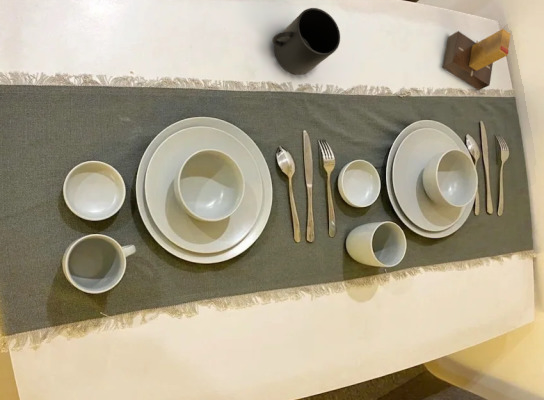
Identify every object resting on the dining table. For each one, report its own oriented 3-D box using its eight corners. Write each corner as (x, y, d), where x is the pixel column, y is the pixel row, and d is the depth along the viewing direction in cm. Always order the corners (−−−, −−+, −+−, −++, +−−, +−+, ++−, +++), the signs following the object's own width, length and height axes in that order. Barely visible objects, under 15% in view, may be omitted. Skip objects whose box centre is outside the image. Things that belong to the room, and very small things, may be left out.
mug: (260, 27, 94) (282, 1, 86) (311, 34, 98) (337, 11, 90) (264, 71, 92) (287, 50, 84) (316, 77, 97) (343, 57, 89)
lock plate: (483, 58, 118) (495, 52, 116) (478, 92, 115) (489, 87, 112) (448, 35, 115) (459, 28, 112) (441, 69, 112) (452, 63, 109)
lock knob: (472, 45, 113) (503, 27, 105) (479, 50, 114) (511, 33, 106) (468, 66, 111) (500, 49, 104) (476, 71, 112) (508, 55, 104)
